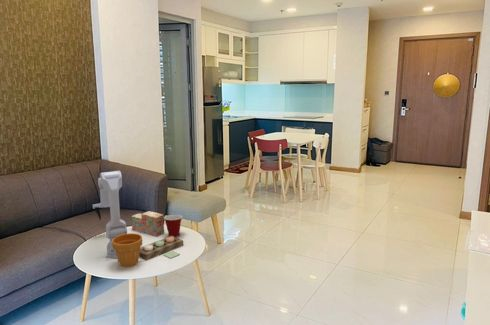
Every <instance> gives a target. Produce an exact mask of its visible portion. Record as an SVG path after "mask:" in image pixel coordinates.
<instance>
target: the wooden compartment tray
mask: <svg viewBox="0 0 490 325" xmlns="http://www.w3.org/2000/svg"><path fill="white" fill-rule="evenodd" d="M170 237H174V236H170ZM166 238H167V237H165V238H162V239H160V240H161V241H164V246H162V247H159V248H158V247H156V243H155V242H156V241H154V242H152V243H149V244H147V245H153V250H152V251H149V252H146V251H144V246H145V245H142V246H141V247H140V254H139V258H141V259H143V260H145V261H149V260H151V259H154V258H156V257H159V256H161V255H164V254H166V253H169V252H171V251H174V250H176V249H178V248H180V247H182V246H184V240H183V239H181V238H178V237H174V242H172V243H167V242H166ZM160 240H158V241H160Z"/></svg>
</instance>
